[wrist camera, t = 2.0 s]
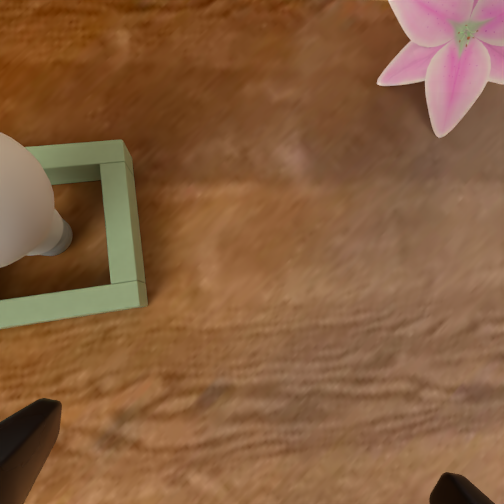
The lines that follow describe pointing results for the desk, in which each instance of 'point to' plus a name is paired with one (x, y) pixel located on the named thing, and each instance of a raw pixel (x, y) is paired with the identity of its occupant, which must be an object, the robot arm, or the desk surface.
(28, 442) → the robot arm
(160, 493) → the desk surface
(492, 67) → the lily
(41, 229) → the lightbulb
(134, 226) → the frame
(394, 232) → the desk surface
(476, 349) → the desk surface
